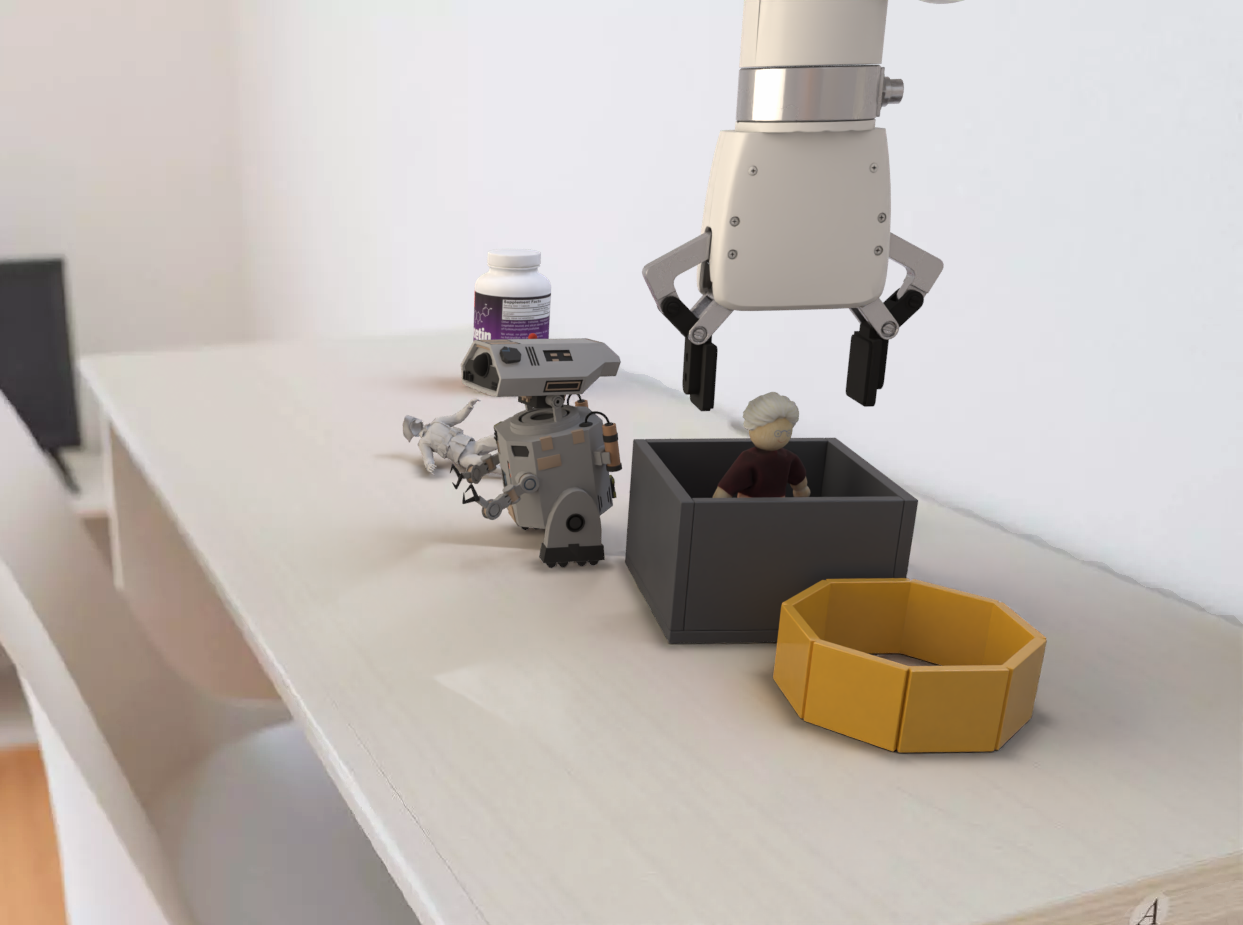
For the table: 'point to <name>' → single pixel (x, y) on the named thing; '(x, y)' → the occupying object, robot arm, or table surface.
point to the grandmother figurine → (766, 453)
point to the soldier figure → (449, 440)
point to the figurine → (548, 441)
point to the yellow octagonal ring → (908, 695)
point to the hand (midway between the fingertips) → (780, 403)
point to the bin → (754, 535)
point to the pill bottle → (512, 297)
